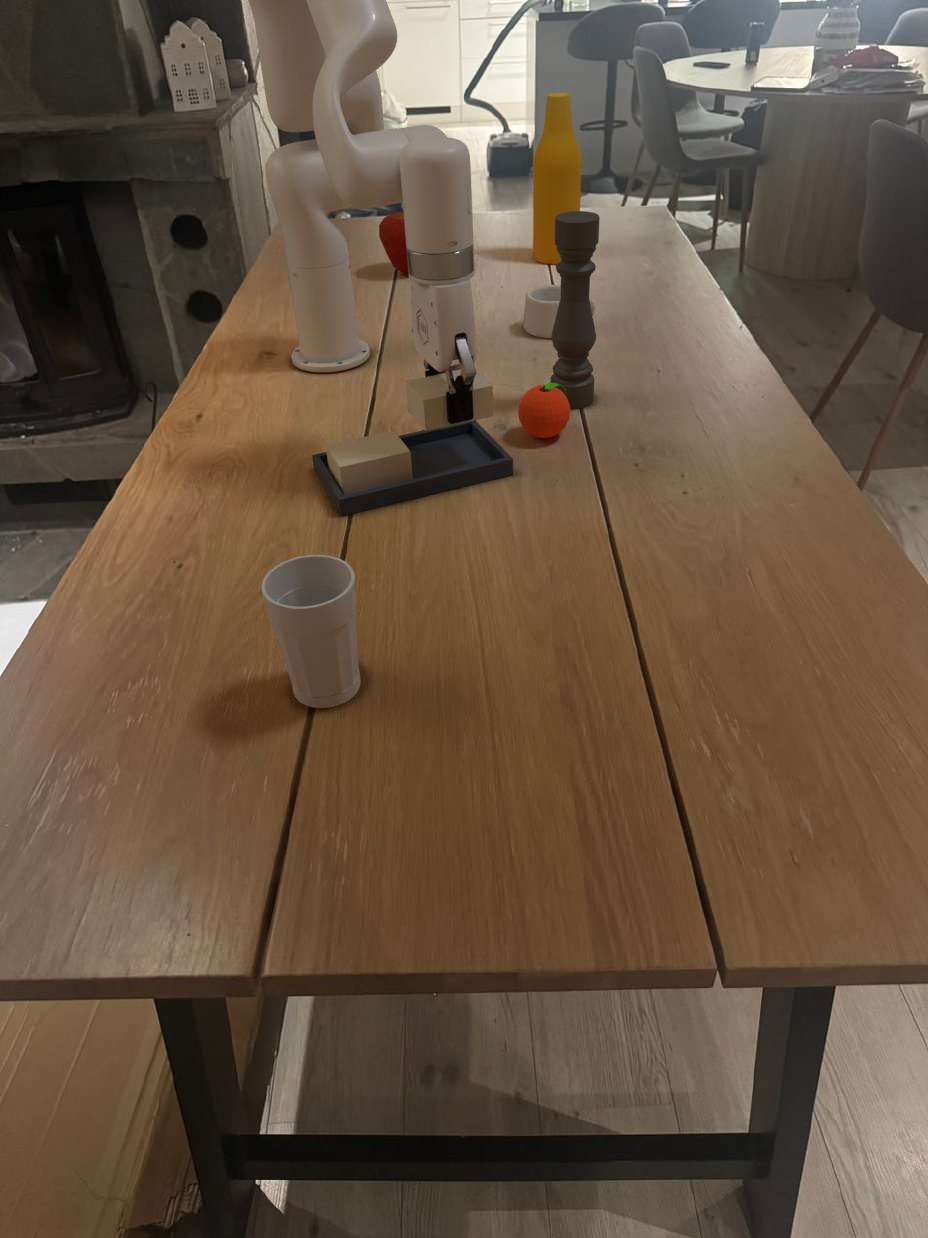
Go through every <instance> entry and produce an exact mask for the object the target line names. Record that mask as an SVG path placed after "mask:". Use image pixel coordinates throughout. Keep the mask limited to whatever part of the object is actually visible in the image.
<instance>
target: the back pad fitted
mask: <svg viewBox="0 0 928 1238" xmlns="http://www.w3.org/2000/svg"><path fill="white" fill-rule="evenodd" d="M399 436H400V435H398V434H397V433H396V432H395V430H388V431H385V432H379V433H375V434H370V435H366V436H361V437H357V438H352V439H347V440H343V441H339V442H334V443H329V444H325V452H327V459H328V465H329V472H330V474H331V476H332V478H333V479H334V481H335V483H336V484H337V486H338V487H339V489H340V491H341V492H342V494H343V496H344V495H348V494H352V493H356V492H361V491H365V490H369V489H373V488H378V487H382V486H386V485H390V484H395V483H399V482H403V481H407V480H412V479H413V475H412V464H411V452H410V450H409V449H408V448H407V446H406V445H405V444H404V443H403V441H402V440H401V439H400V438H399Z"/></svg>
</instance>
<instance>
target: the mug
mask: <svg viewBox="0 0 928 1238" xmlns="http://www.w3.org/2000/svg"><path fill="white" fill-rule="evenodd" d="M560 298H561V284H546V285H540V286H536V287H533V288H531V289H528V291H527V292H526V294H525V301H524V311H523V318H522V319H523V320H522V325H523V329H524V330H525V332H526V333H528V334H529V335H531V336H533V337H538V338H544V339H545V338H546V339H552V330H553V326H554V322H555V318H556V314H557V310H558V306H559V302H560ZM589 300H590V305H591V311H592V316H593V317H594V314H595V312H596V311H595V310H596V305H595V302H594V301H593V299H592V298H591V297H589Z"/></svg>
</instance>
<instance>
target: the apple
mask: <svg viewBox="0 0 928 1238" xmlns="http://www.w3.org/2000/svg"><path fill="white" fill-rule="evenodd" d="M378 237H379V240H380V242H381V244H382V247H383V249H384V251H385V254H386V256H387V258H388V259H389V261H390V263H391V265H392V267H393V268H394V269H395V270H396V271H398V272H400V273H401V274H402V275H405V276H409V271H408V259H407V247H406V235H405V223H404V210H403V211H399V212H398V211H397V212H394V213H390V214H388V215H386V216H384V218H382V220H381V222H380V223H379V224H378Z"/></svg>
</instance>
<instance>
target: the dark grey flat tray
mask: <svg viewBox="0 0 928 1238" xmlns="http://www.w3.org/2000/svg"><path fill="white" fill-rule="evenodd" d="M398 436H399V438H400V439H401V440H402V441H403V443H404V444H405V445H406V446H407V448H408V449H409V450H410V452H411V464H412V475H413V479H412V480H407V481H403V482H399V483H395V484H390V485H386V486H382V487H378V488H373V489H369V490H365V491H361V492H356V493H352V494H348V495H344V496H343V494H342V492H341V491H340V489H339V487H338V486H337V484H336V483H335V481H334V479H333V478H332V476H331V474H330V472H329V465H328V459H327V452H326V451H323V452H319V453H314V454H312V455H311V458H312V465H313V471H314V473H315V474H316V476H317V478H318V479H319V481H320V483H321V484H322V487H323V488H324V489H325V491H326V493H327V494H328V497H329V498H330V500H331V501H332V503H333V505H334V506H335V508H336V510H337V511H338V513H339V515H340V516H341V517H344V516H348V515H352V514H358V513H361V512H365V511H369V510H373V509H377V508H381V507H385V506H390V505H394V504H398V503H402V502H403V503H404V502H407V501H409V500H416V499H420V498H424V497H428V496H431V495H436V494H440V493H443V492H447V491H452V490H456V489H459V488H460V489H461V488H465V487H468V486H472V485H477V484H481V483H485V482H488V481H493V480H497V479H501V478H506V477H510V476H513V475H514V458H513V456H511V455H510V454H509V452H507V451H506V450H505V449H504V448H503V446H501V445H500V444H499V443H498V441H496V439H495V438H493V437H492V435H491V434H489V432H488V431H486V429H485V428H484V427H482V425H481V424H480V423H479V422H478V421H477V420H473V421H468V422H464V423H459V424H455V425H450V426H446V427H441V428H437V429H432V430H428V431H425V430H424V429H423V430H419V431H414V432H410V433H405V434H402V435H401V434H400V435H398Z"/></svg>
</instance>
